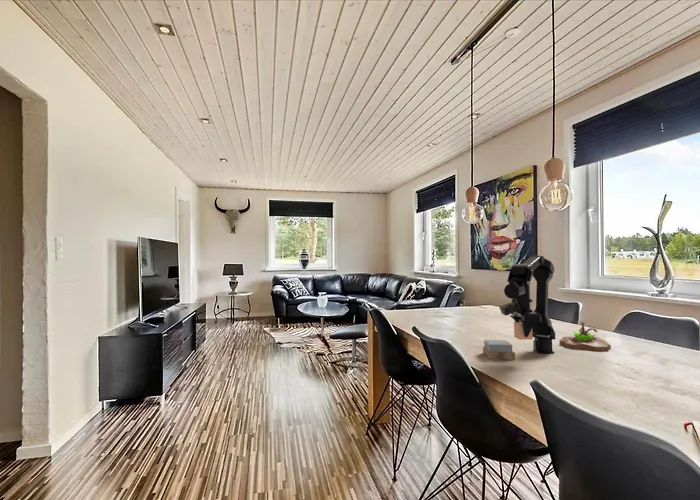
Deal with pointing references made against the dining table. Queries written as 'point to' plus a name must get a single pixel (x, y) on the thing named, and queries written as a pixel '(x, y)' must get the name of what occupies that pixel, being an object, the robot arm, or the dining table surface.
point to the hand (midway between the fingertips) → (523, 335)
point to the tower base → (499, 355)
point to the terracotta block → (521, 331)
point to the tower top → (497, 346)
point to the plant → (585, 341)
